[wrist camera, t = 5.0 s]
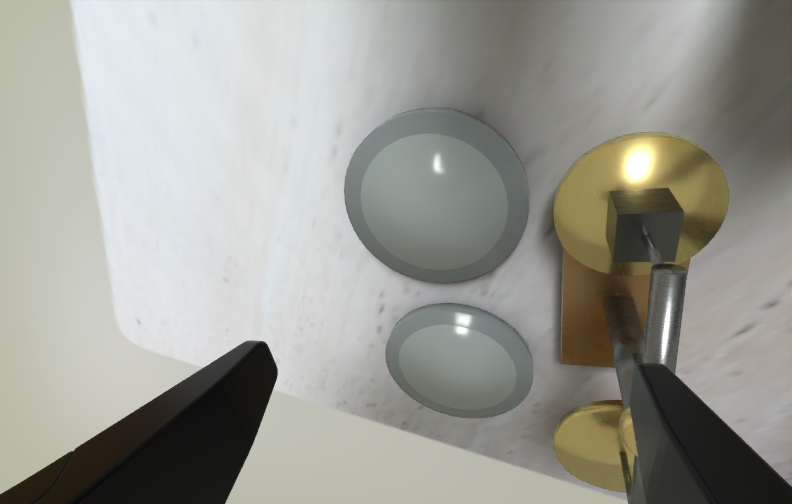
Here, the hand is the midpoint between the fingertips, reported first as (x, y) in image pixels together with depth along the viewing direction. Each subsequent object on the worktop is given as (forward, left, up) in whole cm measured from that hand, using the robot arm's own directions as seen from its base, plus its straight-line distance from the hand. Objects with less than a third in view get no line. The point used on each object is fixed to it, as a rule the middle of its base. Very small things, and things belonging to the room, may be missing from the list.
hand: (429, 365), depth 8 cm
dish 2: (+3, +13, -13) cm, 19 cm away
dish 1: (+3, +2, -13) cm, 14 cm away
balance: (-6, +8, -13) cm, 16 cm away
